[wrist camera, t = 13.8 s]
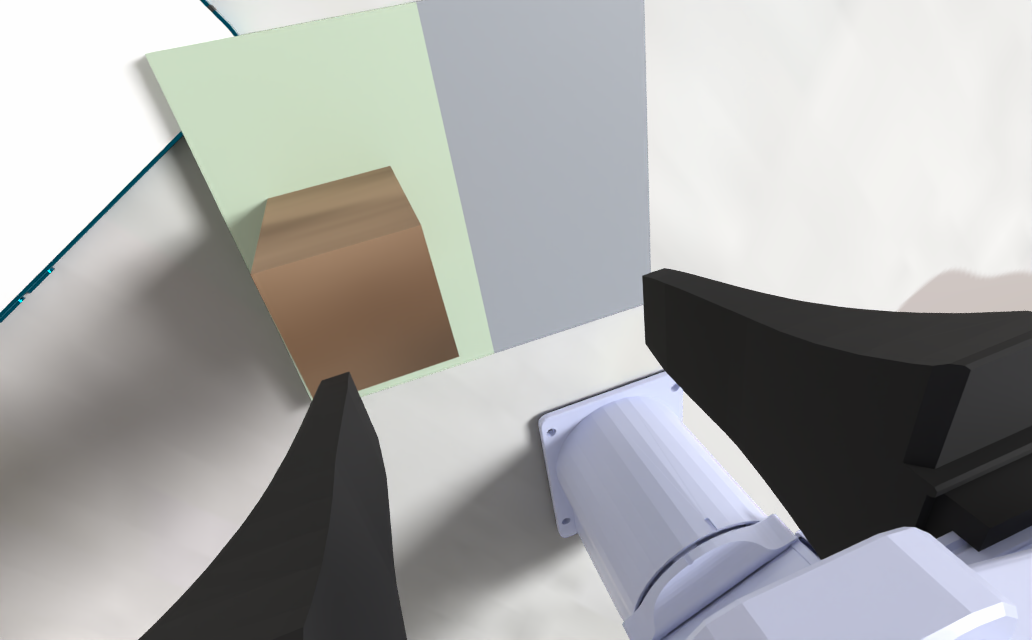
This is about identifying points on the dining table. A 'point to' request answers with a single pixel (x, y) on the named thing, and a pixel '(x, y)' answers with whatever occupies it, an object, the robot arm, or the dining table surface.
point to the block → (352, 281)
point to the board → (448, 146)
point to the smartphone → (80, 118)
